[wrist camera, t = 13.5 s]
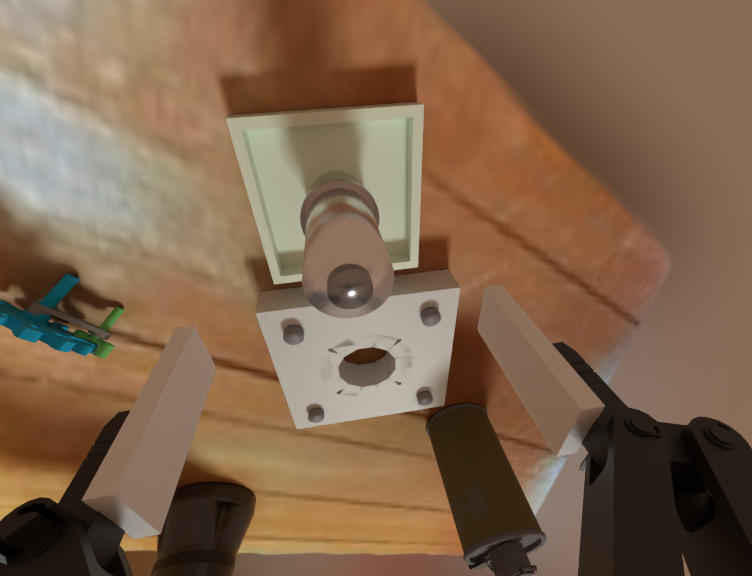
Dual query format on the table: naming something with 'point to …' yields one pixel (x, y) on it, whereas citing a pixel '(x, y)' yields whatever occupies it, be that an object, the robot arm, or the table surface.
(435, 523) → the table surface
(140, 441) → the robot arm
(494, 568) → the canister
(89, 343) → the teal bumpy figure
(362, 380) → the bearing plate
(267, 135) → the parts tray
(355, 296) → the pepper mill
